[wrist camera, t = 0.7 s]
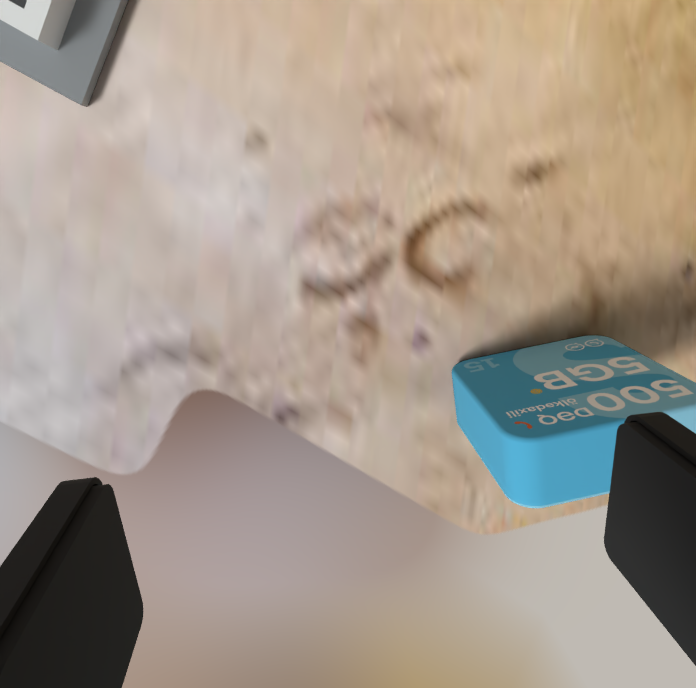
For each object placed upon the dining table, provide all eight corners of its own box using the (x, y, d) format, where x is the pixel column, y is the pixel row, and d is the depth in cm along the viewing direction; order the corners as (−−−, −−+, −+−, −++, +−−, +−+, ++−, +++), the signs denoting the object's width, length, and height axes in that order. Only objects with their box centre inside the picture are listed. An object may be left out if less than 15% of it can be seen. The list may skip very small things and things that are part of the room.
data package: (601, 331, 39) (729, 398, 28) (601, 385, 41) (723, 470, 29) (445, 362, 39) (512, 444, 27) (451, 417, 40) (517, 516, 29)
